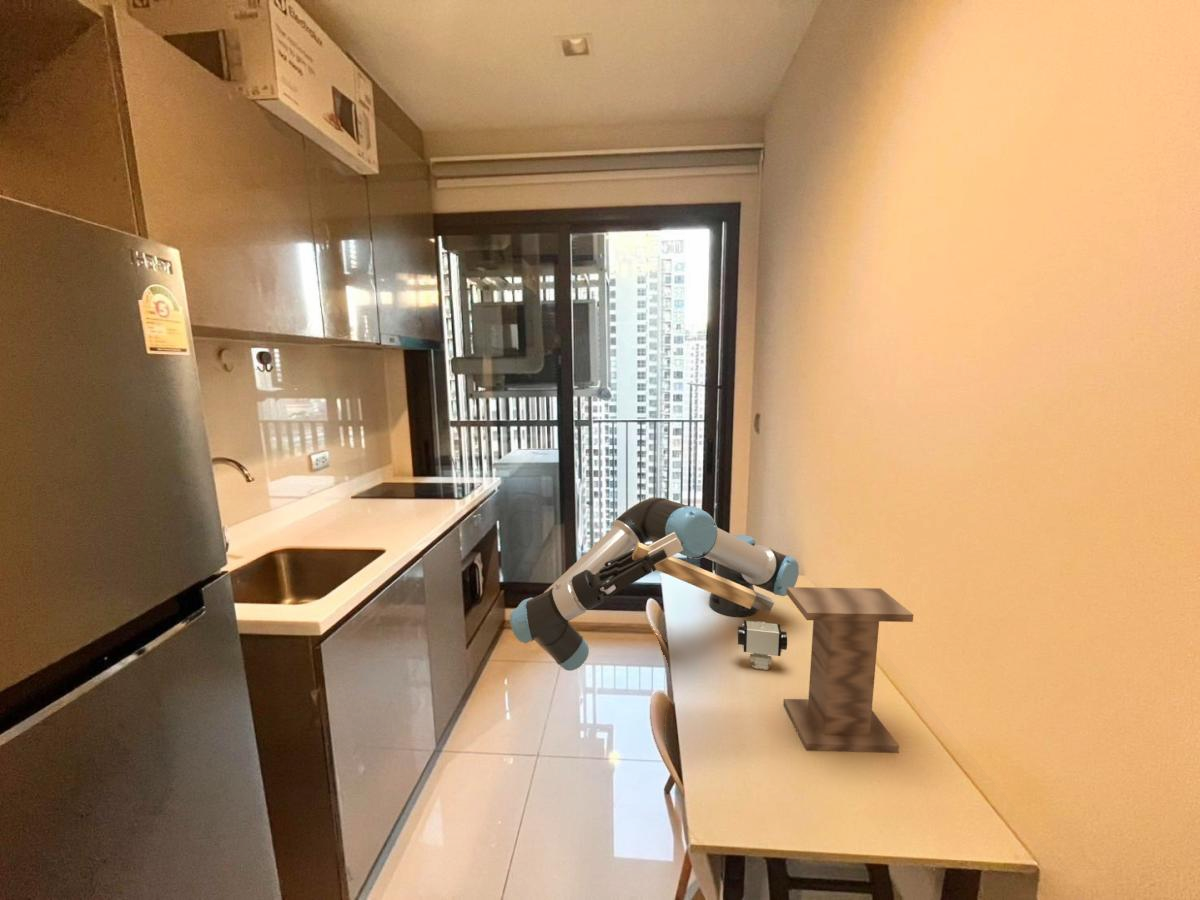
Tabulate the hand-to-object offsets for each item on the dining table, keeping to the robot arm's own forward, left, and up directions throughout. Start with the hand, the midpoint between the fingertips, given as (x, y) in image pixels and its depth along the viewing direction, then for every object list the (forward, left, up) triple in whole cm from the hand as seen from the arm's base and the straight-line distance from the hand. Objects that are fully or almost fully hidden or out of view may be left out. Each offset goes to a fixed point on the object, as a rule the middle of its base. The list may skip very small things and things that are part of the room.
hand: (678, 540), depth 102 cm
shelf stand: (-12, +32, -41) cm, 53 cm away
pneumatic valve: (-30, +15, -41) cm, 53 cm away
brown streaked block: (-2, +5, -7) cm, 9 cm away
